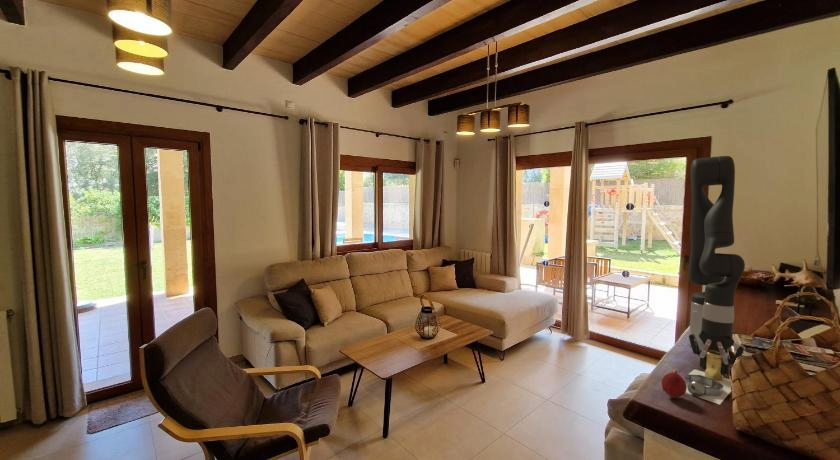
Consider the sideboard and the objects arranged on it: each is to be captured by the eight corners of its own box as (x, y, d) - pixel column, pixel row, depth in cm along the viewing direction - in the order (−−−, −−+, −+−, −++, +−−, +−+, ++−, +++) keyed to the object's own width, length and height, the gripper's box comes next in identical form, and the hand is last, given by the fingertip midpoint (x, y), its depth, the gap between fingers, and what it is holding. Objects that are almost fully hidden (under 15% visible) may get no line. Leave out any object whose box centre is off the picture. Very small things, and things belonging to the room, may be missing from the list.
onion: (686, 405, 99) (688, 377, 98) (661, 399, 102) (662, 371, 101) (684, 396, 104) (686, 369, 103) (660, 390, 107) (662, 364, 106)
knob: (706, 372, 117) (707, 347, 116) (726, 378, 113) (727, 353, 112) (701, 376, 114) (702, 351, 113) (721, 382, 110) (723, 357, 109)
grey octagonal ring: (689, 378, 112) (690, 367, 112) (725, 389, 106) (726, 377, 105) (676, 389, 105) (677, 377, 105) (714, 402, 99) (714, 389, 98)
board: (694, 372, 119) (694, 369, 119) (738, 385, 110) (738, 382, 110) (672, 391, 106) (672, 387, 106) (719, 408, 98) (719, 404, 98)
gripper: (751, 321, 108) (747, 377, 110) (693, 310, 120) (690, 360, 121) (745, 326, 104) (741, 384, 105) (685, 314, 115) (682, 367, 116)
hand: (713, 371), depth 113 cm, fingers closed on knob, 4 cm apart
